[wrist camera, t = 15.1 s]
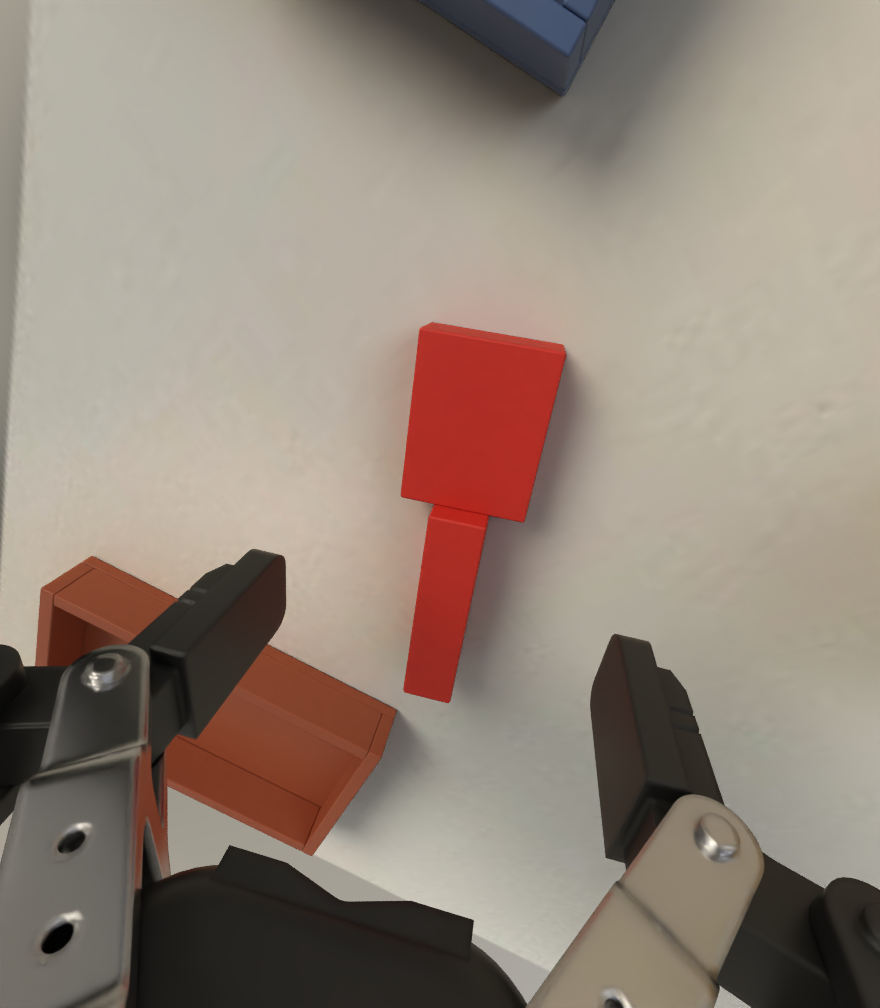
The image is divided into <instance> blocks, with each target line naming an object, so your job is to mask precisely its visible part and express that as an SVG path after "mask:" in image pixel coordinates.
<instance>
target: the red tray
mask: <svg viewBox="0 0 880 1008" xmlns="http://www.w3.org/2000/svg"><path fill="white" fill-rule="evenodd" d="M175 601H176V602H177V601H178V599H176V598H174V597H172V596H170V595H168V594H166V593H164V592H162V591H160V590H158V589H156V588H154V587H152V586H150V585H148V584H146V583H144V582H142V581H140V580H138V579H136V578H135V577H133V576H131V575H129V574H127V573H125V572H123V571H121V570H119V569H117V568H115V567H113V566H111V565H109V564H107V563H105V562H103V561H101V560H99V559H97V558H95V557H93V556H91V557H89V558H88V559H86V560H84V561H83V563H80V564H78V565H77V566H75V567H74V568H72V569H71V570H69V571H67V572H66V573H64V574H63V575H61V576H60V577H58V578H56V579H55V580H53V581H52V582H50V583H49V584H47V585H45V586H44V587H42V588H41V593H40V607H39V620H38V634H37V648H36V662H35V666H70V665H71V664H72V663H73V662H74V661H75V660H77V659H78V658H80V657H81V656H83V655H85V654H87V653H89V652H91V651H93V650H96V649H99V648H102V647H106V646H110V645H119V644H126V645H127V644H128V643H129V642H130V641H131V640H133V639H134V638H135V637H136V636H137V635H138V634H139V633H140V632H141V631H143V630H144V629H145V628H146V627H147V626H148V625H149V624H150V623H151V622H153V621H154V620H155V619H156V618H157V617H158V616H159V615H160V614H161V613H163V612H164V611H165V610H166V609H167V608H168V607H169V606H170V605H171V604H173V603H174V602H175ZM396 712H397V710H396V709H394V708H392V707H390V706H388V705H386V704H384V703H382V702H380V701H378V700H376V699H374V698H372V697H370V696H368V695H366V694H364V693H362V692H360V691H358V690H356V689H354V688H352V687H350V686H348V685H346V684H344V683H342V682H340V681H338V680H336V679H334V678H332V677H330V676H328V675H326V674H324V673H322V672H320V671H318V670H317V669H315V668H313V667H311V666H309V665H307V664H305V663H303V662H301V661H299V660H297V659H295V658H293V657H291V656H289V655H287V654H285V653H283V652H281V651H279V650H277V649H275V648H273V647H271V646H269V645H266V646H265V648H264V649H263V650H262V652H261V653H260V654H259V656H258V657H257V658H256V660H255V661H254V662H253V664H252V665H251V666H250V668H249V669H248V671H247V672H246V673H245V675H244V676H243V677H242V679H241V680H240V681H239V683H238V684H237V685H236V687H235V688H234V689H233V691H232V692H231V693H230V695H229V696H228V698H227V699H226V700H225V702H224V703H223V704H222V706H221V707H220V708H219V710H218V711H217V712H216V714H215V715H214V716H213V718H212V719H211V720H210V722H209V723H208V725H207V726H206V727H205V729H204V730H203V731H202V733H201V734H200V735H199V737H198V738H197V739H192V738H189V737H185V736H182V735H178V734H177V735H176V736H175V737H174V739H173V740H172V741H171V743H170V744H169V745H168V746H167V748H166V750H167V786H168V787H171V788H172V789H174V790H177V791H179V792H181V793H183V794H185V795H187V796H189V797H191V798H193V799H195V800H197V801H199V802H201V803H203V804H205V805H207V806H209V807H212V808H214V809H216V810H218V811H220V812H222V813H224V814H226V815H228V816H230V817H232V818H234V819H236V820H238V821H240V822H242V823H244V824H246V825H248V826H250V827H253V828H255V829H257V830H259V831H261V832H263V833H265V834H267V835H269V836H271V837H273V838H275V839H277V840H279V841H282V842H283V843H285V844H288V845H290V846H292V847H294V848H296V849H298V850H300V851H301V850H302V852H304V853H306V854H308V855H310V856H312V855H313V854H314V853H315V851H316V850H317V848H318V847H319V846H320V844H321V843H322V841H323V840H324V839H325V837H326V836H327V834H328V833H329V832H330V830H331V829H332V827H333V826H334V824H335V823H336V822H337V820H338V819H339V817H340V816H341V815H342V813H343V812H344V810H345V809H346V807H347V806H348V805H349V803H350V802H351V800H352V799H353V798H354V796H355V795H356V793H357V792H358V791H359V789H360V788H361V786H362V785H363V783H364V782H365V781H366V779H367V778H368V776H369V775H370V774H371V772H372V771H373V769H374V768H375V766H376V765H377V764H378V762H379V761H380V759H381V758H382V755H383V752H384V748H385V745H386V742H387V739H388V736H389V733H390V730H391V727H392V724H393V720H394V718H395V715H396Z"/></svg>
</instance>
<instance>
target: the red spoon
mask: <svg viewBox="0 0 880 1008" xmlns="http://www.w3.org/2000/svg"><path fill="white" fill-rule="evenodd" d="M565 358H566V352H565V349H564V345H562V344H556V343H550V342H544V341H539V340H533V339H527V338H521V337H515V336H509V335H504V334H498V333H492V332H486V331H480V330H474V329H469V328H463V327H457V326H451V325H445V324H439V323H434V322H432V323H430V324H428V325H425V326H423V327H421V328H420V330H419V338H418V347H417V356H416V365H415V374H414V382H413V391H412V400H411V409H410V418H409V426H408V435H407V444H406V453H405V462H404V470H403V479H402V488H401V497H403V498H408V499H413V500H418V501H422V502H427V503H432V504H434V506H433V509H432V511H431V513H430V515H429V518H428V524H427V531H426V538H425V545H424V552H423V559H422V565H421V572H420V579H419V586H418V593H417V600H416V606H415V613H414V620H413V627H412V634H411V641H410V647H409V654H408V661H407V668H406V675H405V682H404V688H403V690H404V692H405V693H409V694H413V695H417V696H421V697H425V698H429V699H433V700H437V701H441V702H445V703H449V702H450V700H451V695H452V691H453V686H454V681H455V677H456V672H457V667H458V662H459V658H460V653H461V648H462V643H463V639H464V634H465V629H466V625H467V620H468V615H469V610H470V606H471V601H472V596H473V591H474V587H475V582H476V577H477V573H478V568H479V563H480V558H481V554H482V549H483V544H484V540H485V535H486V530H487V525H488V520H489V516H494V517H498V518H503V519H508V520H513V521H517V522H524V521H525V518H526V514H527V510H528V506H529V502H530V498H531V494H532V490H533V486H534V482H535V478H536V474H537V470H538V466H539V462H540V458H541V454H542V450H543V446H544V442H545V438H546V434H547V430H548V426H549V422H550V418H551V414H552V410H553V406H554V402H555V398H556V394H557V390H558V386H559V382H560V378H561V374H562V370H563V366H564V362H565Z"/></svg>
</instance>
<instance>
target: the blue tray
mask: <svg viewBox="0 0 880 1008" xmlns="http://www.w3.org/2000/svg"><path fill="white" fill-rule="evenodd" d="M418 1H420V2H421V3H423V4H424V5H426V6H427V7H429V8H430V9H432V10H433V11H435V12H436V13H438V14H439V15H441V16H442V17H444V18H445V19H447V20H448V21H450V22H451V23H453V24H454V25H456V26H457V27H459V28H460V29H462V30H463V31H465V32H466V33H468V34H469V35H471V36H472V37H474V38H475V39H477V40H478V41H480V42H481V43H483V44H484V45H486V46H487V47H489V48H490V49H492V50H493V51H495V52H496V53H498V54H499V55H501V56H502V57H504V58H505V59H507V60H508V61H510V62H511V63H513V64H514V65H516V66H517V67H519V68H520V69H522V70H523V71H525V72H526V73H527V74H529V75H530V76H532V77H533V78H535V79H536V80H538V81H539V82H541V83H542V84H544V85H545V86H547V87H548V88H550V89H551V90H553V91H554V92H556V93H557V94H559V95H560V96H565V94H566V92H567V91H568V89H569V87H570V85H571V83H572V81H573V79H574V77H575V75H576V73H577V71H578V70H579V68H580V66H581V64H582V62H583V60H584V58H585V56H586V54H587V52H588V50H589V49H590V47H591V45H592V43H593V41H594V39H595V37H596V35H597V33H598V31H599V30H600V28H601V26H602V24H603V22H604V20H605V18H606V16H607V14H608V12H609V10H610V9H611V7H612V5H613V3H614V1H615V0H418Z"/></svg>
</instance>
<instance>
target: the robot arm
mask: <svg viewBox="0 0 880 1008" xmlns="http://www.w3.org/2000/svg"><path fill="white" fill-rule="evenodd" d="M285 610H286V563H285V558H284V557H283V556H282V555H278V554H274V553H270V552H265V551H261V550H257V549H252V550H250V551H249V552H247V553H246V554H245V555H244V556H243V557H242V558H241V559H240V560H239V561H238V562H237V563H236V564H235V565H230V564H225V565H223V566H221V567H219V568H217V569H215V570H212V571H210V572H208V573H206V574H205V575H204V576H203V577H202V578H200V579H199V580H198V581H197V582H196V583H195V584H194V585H193V586H192V587H191V589H190V590H187V591H186V592H185V593H184V594H183V595H182V596H180V597H179V598H178V601H177V602H176V601H175V602H174V603H173V604H171V605H170V606H169V607H168V608H167V609H166V610H165V611H164V612H163V613H161V614H160V615H159V616H158V617H157V618H156V619H155V620H154V621H153V622H151V623H150V624H149V625H148V626H147V627H146V628H145V629H144V630H143V631H141V632H140V633H139V634H138V635H137V636H136V637H135V638H134V639H133V640H131V641H130V642H129V643H128V644H127V645H126V644H119V645H110V646H106V647H102V648H99V649H96V650H93V651H91V652H89V653H87V654H85V655H83V656H81V657H80V658H78V659H77V660H75V661H74V662H73V663H72V664H71V665H70V666H28V667H24V666H23V663H22V661H21V658H20V655H19V653H18V651H17V650H16V649H14V648H12V647H10V646H7V645H1V644H0V825H1V824H2V823H3V822H4V821H5V820H6V818H7V817H8V816H9V815H10V814H11V813H12V812H13V815H12V819H11V823H10V827H9V831H8V835H7V839H6V843H5V847H4V851H3V855H2V858H1V863H0V1008H714V1005H715V1003H716V1000H717V997H718V994H719V989H720V986H721V987H723V988H724V989H726V990H727V991H729V992H730V993H731V994H733V995H734V996H736V997H737V998H739V999H740V1000H742V1001H743V1002H745V1003H746V1004H747V1005H749V1006H750V1007H751V1008H880V890H879V889H877V888H875V887H873V886H871V885H870V884H868V883H865V882H863V881H860V880H857V879H853V878H845V877H842V878H837V879H835V880H833V881H832V882H831V883H830V884H829V885H828V886H827V887H826V888H825V889H824V888H822V887H821V886H819V885H817V884H815V883H813V882H812V881H810V880H808V879H806V878H805V877H803V876H801V875H799V874H798V873H796V872H794V871H792V870H790V869H789V868H787V867H785V866H783V865H782V864H780V863H778V862H776V861H775V860H773V859H772V858H770V857H769V856H767V855H766V854H765V853H763V852H762V851H761V848H760V846H759V844H758V842H757V839H756V838H755V836H754V835H753V833H752V832H751V830H750V829H749V828H748V826H747V825H746V824H745V823H744V822H743V821H742V820H741V819H740V818H739V817H738V816H737V815H736V814H735V813H734V812H733V811H731V810H730V809H729V808H727V807H726V806H725V805H724V802H723V799H722V796H721V793H720V790H719V787H718V784H717V781H716V778H715V775H714V772H713V769H712V766H711V763H710V760H709V757H708V754H707V751H706V748H705V745H704V743H703V740H702V737H701V734H699V728H698V725H697V722H696V719H695V716H693V710H692V707H691V704H690V701H689V698H688V695H687V692H686V690H685V689H684V687H683V686H682V685H681V683H680V682H679V681H678V680H677V678H676V677H675V676H674V674H673V673H672V672H671V670H667V669H663V668H659V667H657V664H656V661H655V657H654V654H653V650H652V647H651V644H650V643H649V642H648V641H644V640H640V639H635V638H631V637H627V636H623V635H618V634H614V635H613V636H612V637H611V639H610V641H609V644H608V646H607V649H606V651H605V654H604V656H603V659H602V662H601V664H600V667H599V669H598V672H597V674H596V677H595V680H594V682H593V686H592V691H591V699H590V710H591V720H592V730H593V739H594V749H595V759H596V768H597V778H598V787H599V797H600V807H601V816H602V826H603V836H604V845H605V855H606V858H609V859H612V860H616V861H619V862H623V863H625V865H626V872H625V873H624V875H623V876H622V877H621V879H620V880H619V881H616V882H615V884H614V885H613V886H612V887H611V889H610V890H609V891H608V893H607V894H606V896H605V897H604V898H603V900H602V901H601V903H600V904H599V905H598V907H597V908H596V910H595V911H594V912H593V914H592V915H591V916H590V918H589V919H588V921H587V922H586V923H585V925H584V926H583V928H582V929H581V930H580V932H579V933H578V935H577V936H576V937H575V939H574V940H573V942H572V943H571V944H570V946H569V947H568V949H567V950H566V951H565V953H564V954H563V956H562V957H561V958H560V960H559V961H558V963H557V964H556V965H555V967H554V968H553V970H552V971H551V972H550V974H549V975H548V977H547V978H546V979H545V981H544V982H543V984H542V985H541V986H540V988H539V989H538V991H537V992H536V993H535V995H534V996H533V998H532V999H531V1001H530V1002H529V1003H528V1005H527V1003H526V1002H525V1000H524V998H523V996H522V995H521V993H520V992H519V990H518V989H517V988H516V986H515V985H514V983H513V982H512V981H511V979H510V978H509V977H508V975H507V974H506V973H505V972H504V971H503V970H502V969H501V967H499V965H498V964H497V963H496V962H495V961H494V960H493V959H492V958H491V957H489V956H488V955H487V954H486V953H485V952H484V951H483V950H481V949H480V948H478V947H477V946H476V945H474V944H473V943H471V941H472V932H473V923H474V920H472V919H468V918H465V917H462V916H459V915H455V914H452V913H449V912H446V911H442V910H439V909H436V908H432V907H429V906H426V905H423V904H419V903H416V902H413V901H370V902H369V901H366V902H365V901H364V902H346V901H342V900H339V899H337V898H335V897H334V896H333V895H331V894H330V893H328V892H327V891H326V890H324V889H323V888H321V887H320V886H319V885H317V884H316V883H314V882H313V881H311V880H310V879H309V878H307V877H306V876H305V875H303V874H302V873H300V872H299V871H298V870H296V869H295V868H293V867H292V866H291V865H289V864H288V863H285V862H283V861H279V860H276V859H273V858H270V857H266V856H263V855H260V854H256V853H253V852H250V851H247V850H243V849H240V848H237V847H234V846H230V845H229V847H228V849H227V851H226V852H225V854H224V856H223V858H222V860H221V861H220V863H219V865H212V866H205V867H199V868H193V869H190V870H186V871H182V872H179V873H176V874H174V875H171V874H170V862H169V854H168V836H167V750H166V748H167V746H168V745H169V744H170V743H171V741H172V740H173V739H174V737H175V736H176V735H177V734H178V735H182V736H185V737H189V738H192V739H197V738H198V737H199V735H200V734H201V733H202V731H203V730H204V729H205V727H206V726H207V725H208V723H209V722H210V720H211V719H212V718H213V716H214V715H215V714H216V712H217V711H218V710H219V708H220V707H221V706H222V704H223V703H224V702H225V700H226V699H227V698H228V696H229V695H230V693H231V692H232V691H233V689H234V688H235V687H236V685H237V684H238V683H239V681H240V680H241V679H242V677H243V676H244V675H245V673H246V672H247V671H248V669H249V668H250V666H251V665H252V664H253V662H254V661H255V660H256V658H257V657H258V656H259V654H260V653H261V652H262V650H263V649H264V648H265V646H266V645H267V644H268V642H269V641H270V639H271V638H272V637H273V635H274V634H275V633H276V631H277V630H278V628H279V627H280V625H281V623H282V620H283V617H284V614H285ZM719 985H720V986H719Z"/></svg>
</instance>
